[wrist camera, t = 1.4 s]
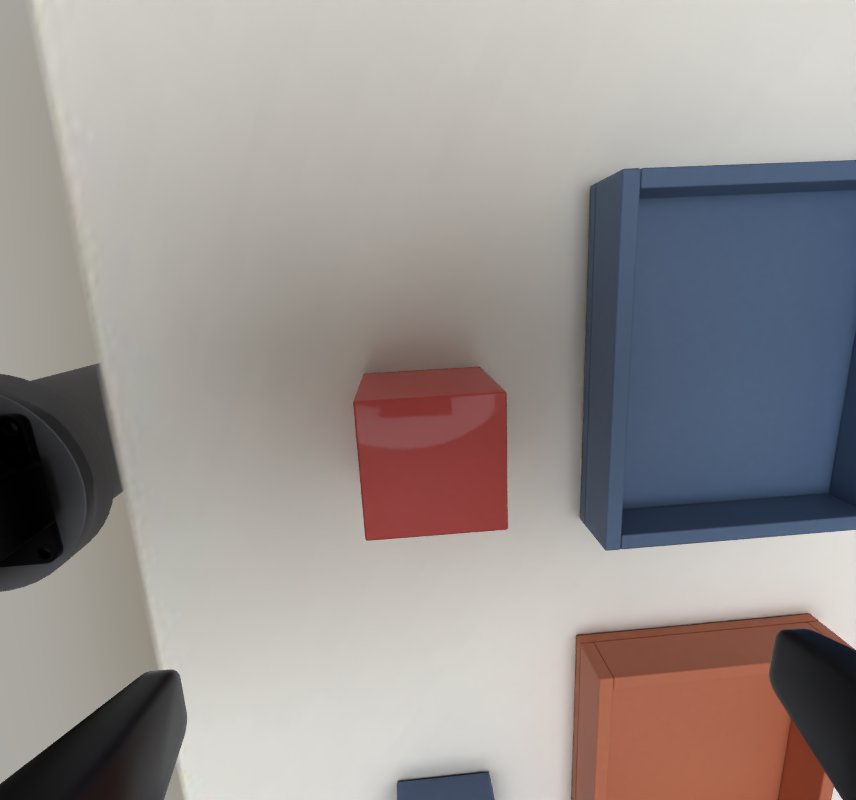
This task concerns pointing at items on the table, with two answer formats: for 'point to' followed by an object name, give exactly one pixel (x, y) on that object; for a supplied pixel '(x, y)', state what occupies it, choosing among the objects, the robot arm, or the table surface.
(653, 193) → the slate tray
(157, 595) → the table surface
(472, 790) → the blue block
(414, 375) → the red block
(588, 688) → the terracotta tray
